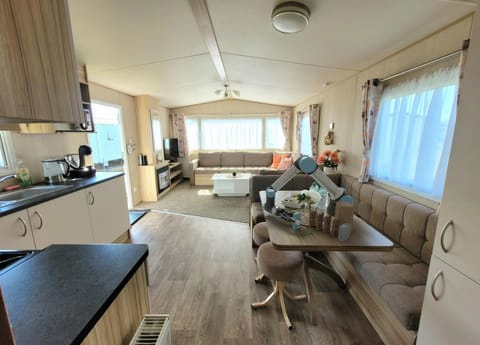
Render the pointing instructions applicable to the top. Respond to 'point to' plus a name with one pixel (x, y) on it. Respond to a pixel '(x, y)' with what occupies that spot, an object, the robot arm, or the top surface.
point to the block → (344, 213)
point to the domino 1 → (297, 217)
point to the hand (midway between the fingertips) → (302, 222)
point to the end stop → (344, 232)
